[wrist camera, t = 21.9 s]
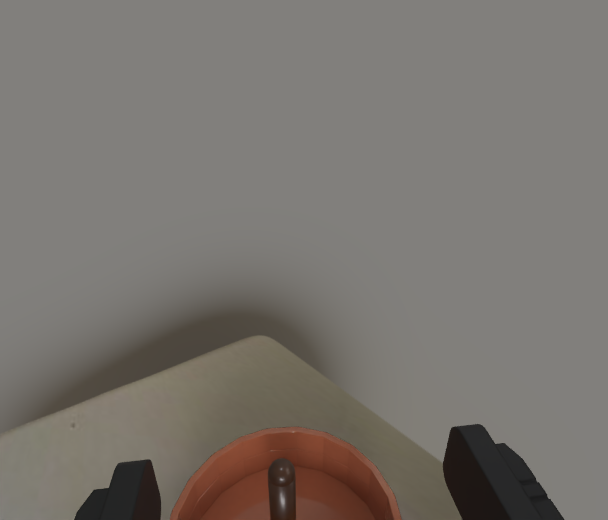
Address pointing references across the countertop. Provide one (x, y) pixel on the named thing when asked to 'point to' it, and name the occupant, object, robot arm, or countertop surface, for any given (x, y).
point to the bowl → (309, 480)
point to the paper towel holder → (282, 490)
